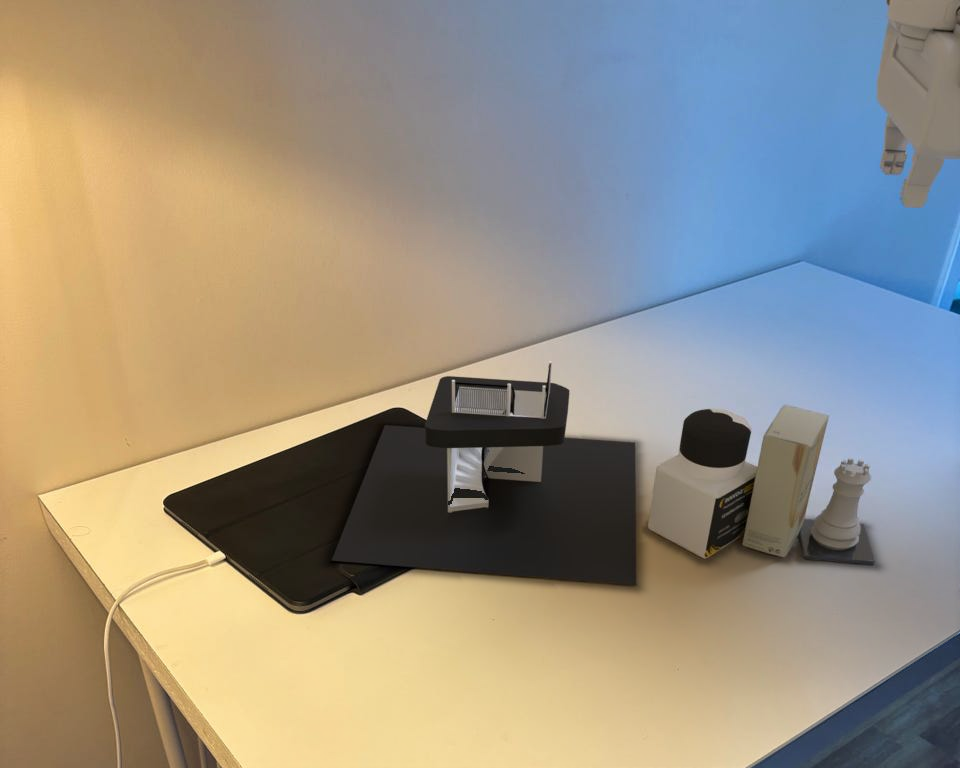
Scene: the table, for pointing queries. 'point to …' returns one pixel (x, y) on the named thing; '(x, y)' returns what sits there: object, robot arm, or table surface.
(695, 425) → the medicine bottle
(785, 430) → the cosmetic box
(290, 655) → the table surface
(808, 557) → the slate coaster
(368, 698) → the table surface
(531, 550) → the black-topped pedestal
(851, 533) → the rook chess piece
